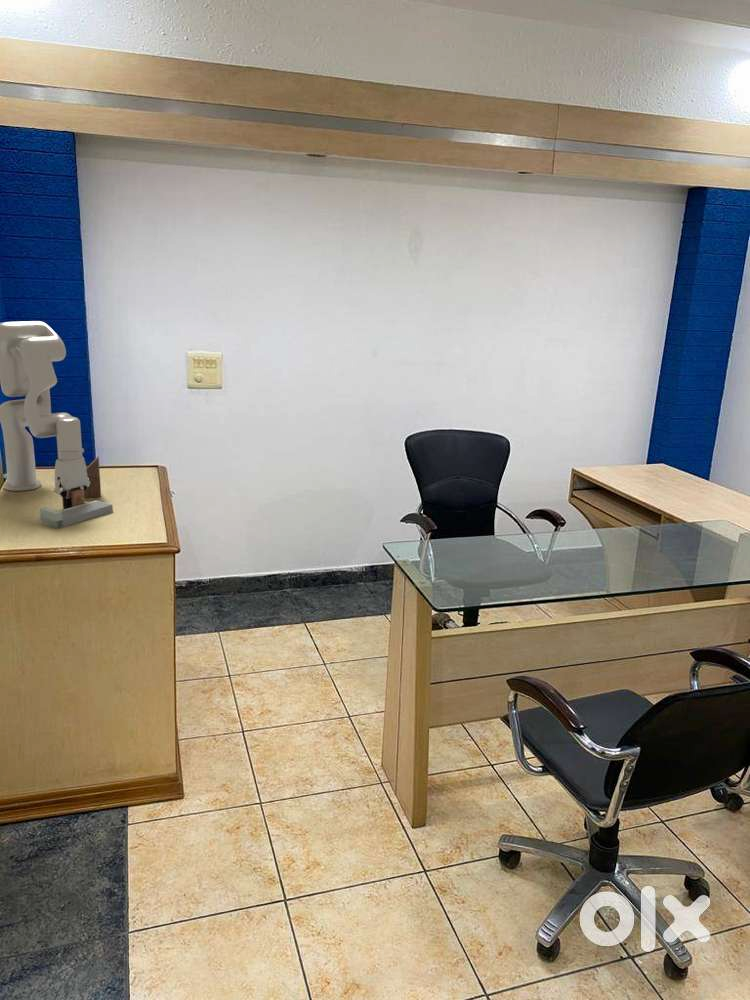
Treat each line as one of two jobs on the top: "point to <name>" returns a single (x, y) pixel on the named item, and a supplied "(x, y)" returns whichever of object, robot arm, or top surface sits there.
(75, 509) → the grey board
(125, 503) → the top surface
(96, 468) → the brown forked upright piece
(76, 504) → the brown block
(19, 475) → the robot arm
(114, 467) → the top surface
